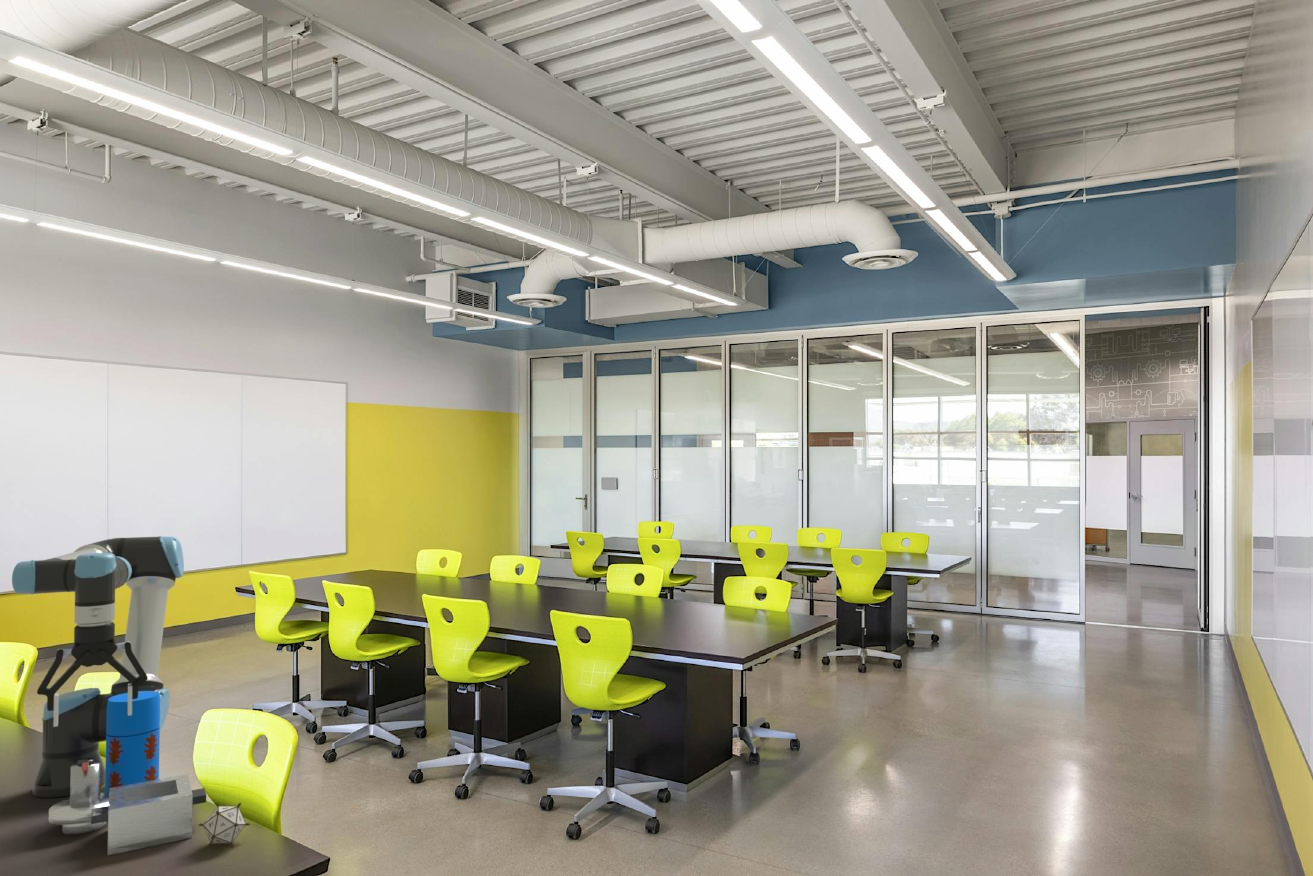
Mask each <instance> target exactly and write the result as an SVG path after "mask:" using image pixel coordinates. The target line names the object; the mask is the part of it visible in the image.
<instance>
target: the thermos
mask: <svg viewBox="0 0 1313 876" xmlns="http://www.w3.org/2000/svg"><path fill="white" fill-rule="evenodd" d="M160 734H161V730H160V694H159V692H157V691H138V698H137V699H132V715H130V716H128V693H124V694H119V695H116V696H113V697H111V698H109V699H108V703H107V720H106V741H105V770H106V772H105V783H104V784H105V786H104V793H109V788H113V787H119V786H125V785H130V784H136V783H142V782H147V781H153V780H159V779H160V744H161V743H160V739H161V738H160Z"/></svg>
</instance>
